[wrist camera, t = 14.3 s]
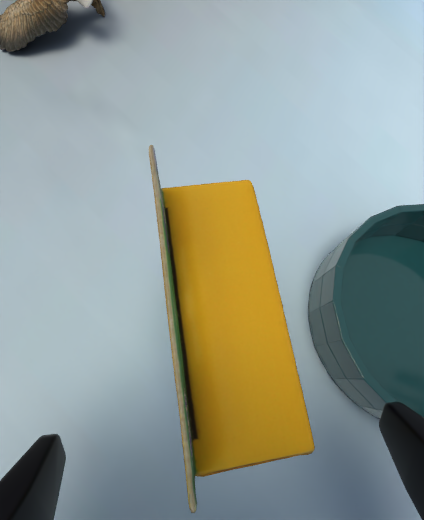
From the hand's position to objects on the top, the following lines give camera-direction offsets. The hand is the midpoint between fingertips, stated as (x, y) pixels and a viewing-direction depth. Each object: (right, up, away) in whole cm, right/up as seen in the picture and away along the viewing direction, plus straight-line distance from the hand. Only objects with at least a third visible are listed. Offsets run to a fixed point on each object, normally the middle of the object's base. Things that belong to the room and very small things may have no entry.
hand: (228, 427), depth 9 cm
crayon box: (-1, 0, +8) cm, 9 cm away
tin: (+11, +1, +9) cm, 14 cm away
